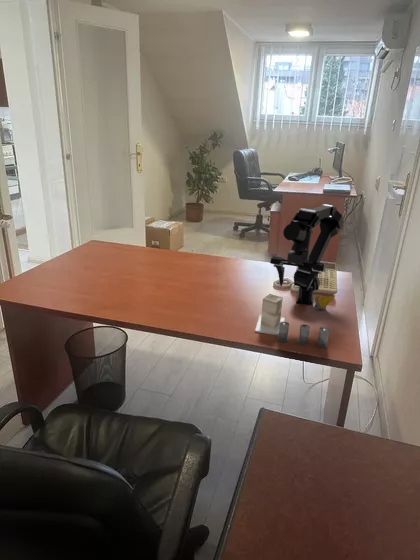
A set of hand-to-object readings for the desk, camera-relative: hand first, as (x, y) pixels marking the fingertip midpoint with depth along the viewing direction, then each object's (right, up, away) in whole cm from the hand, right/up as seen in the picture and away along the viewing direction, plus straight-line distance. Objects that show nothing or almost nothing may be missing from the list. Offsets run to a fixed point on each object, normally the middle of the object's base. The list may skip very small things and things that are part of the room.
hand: (293, 288), depth 141 cm
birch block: (-9, -12, -2) cm, 15 cm away
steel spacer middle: (0, -18, -12) cm, 21 cm away
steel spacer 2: (+6, -18, -13) cm, 23 cm away
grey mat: (-9, -13, -2) cm, 16 cm away
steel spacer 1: (-6, -17, -10) cm, 21 cm away
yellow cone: (+14, -8, +12) cm, 20 cm away
